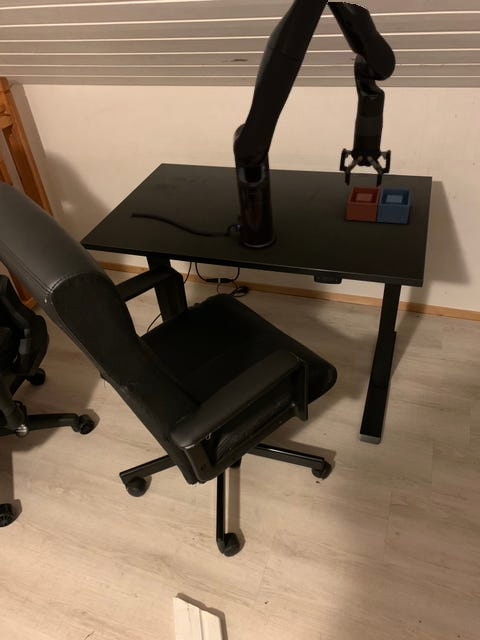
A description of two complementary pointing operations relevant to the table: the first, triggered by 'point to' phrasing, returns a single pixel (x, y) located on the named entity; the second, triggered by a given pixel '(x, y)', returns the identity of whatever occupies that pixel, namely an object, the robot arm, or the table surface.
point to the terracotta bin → (363, 204)
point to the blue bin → (394, 206)
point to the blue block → (394, 200)
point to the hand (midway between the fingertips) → (362, 185)
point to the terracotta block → (364, 198)
